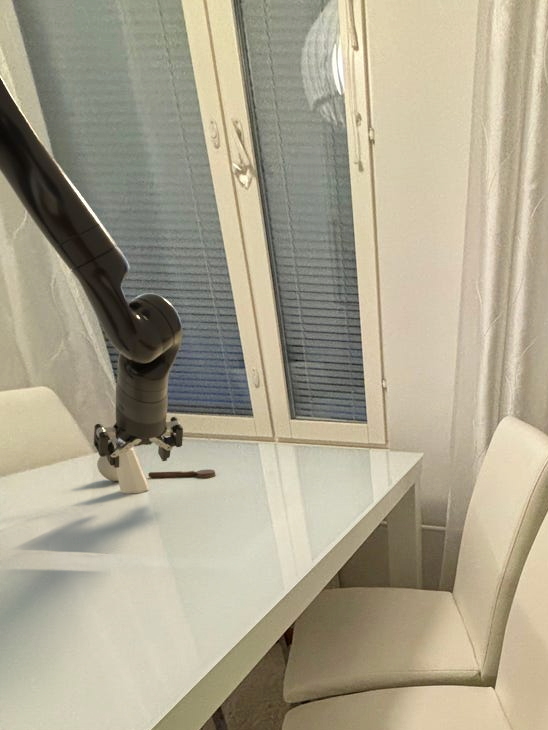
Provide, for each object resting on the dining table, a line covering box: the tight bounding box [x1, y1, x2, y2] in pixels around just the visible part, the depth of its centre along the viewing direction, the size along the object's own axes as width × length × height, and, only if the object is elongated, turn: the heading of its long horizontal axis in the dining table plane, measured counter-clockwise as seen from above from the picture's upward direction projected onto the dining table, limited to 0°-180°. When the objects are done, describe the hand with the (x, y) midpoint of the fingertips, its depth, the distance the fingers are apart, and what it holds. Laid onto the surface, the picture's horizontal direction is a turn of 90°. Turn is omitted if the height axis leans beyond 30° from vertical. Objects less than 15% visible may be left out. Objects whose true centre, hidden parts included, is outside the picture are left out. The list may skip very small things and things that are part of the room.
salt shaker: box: [110, 437, 150, 495], centre depth 113 cm, size 5×5×11 cm
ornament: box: [96, 455, 119, 482], centre depth 120 cm, size 6×7×10 cm
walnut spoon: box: [147, 469, 217, 479], centre depth 126 cm, size 14×4×1 cm, turn 104°
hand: (138, 460), depth 106 cm, fingers open, 8 cm apart
